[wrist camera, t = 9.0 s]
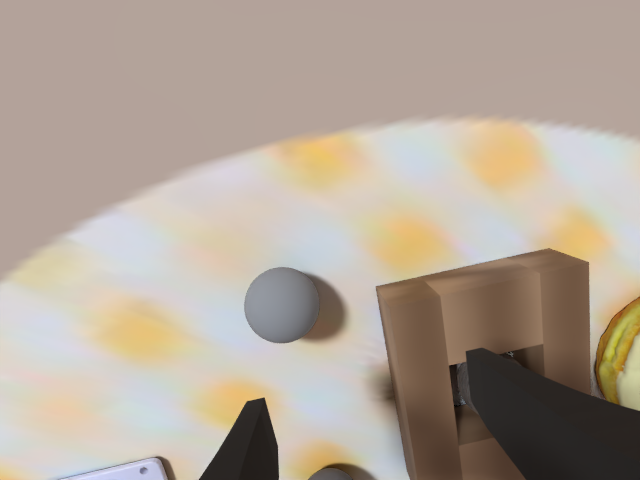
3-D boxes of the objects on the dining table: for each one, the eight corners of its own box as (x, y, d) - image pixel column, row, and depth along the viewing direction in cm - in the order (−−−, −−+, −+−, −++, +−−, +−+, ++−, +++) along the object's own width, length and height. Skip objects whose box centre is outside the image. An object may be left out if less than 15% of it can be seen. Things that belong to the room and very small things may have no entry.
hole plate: (407, 470, 25) (422, 512, 22) (375, 286, 22) (389, 306, 19) (556, 434, 25) (591, 470, 22) (548, 248, 22) (588, 262, 19)
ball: (257, 328, 22) (250, 366, 18) (241, 266, 21) (230, 292, 17) (322, 314, 22) (330, 348, 18) (308, 251, 21) (314, 273, 17)
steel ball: (448, 400, 24) (486, 446, 20) (441, 347, 23) (479, 384, 19) (502, 383, 24) (549, 424, 20) (498, 330, 23) (546, 363, 19)
